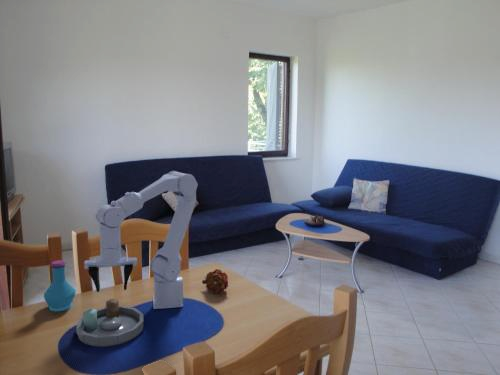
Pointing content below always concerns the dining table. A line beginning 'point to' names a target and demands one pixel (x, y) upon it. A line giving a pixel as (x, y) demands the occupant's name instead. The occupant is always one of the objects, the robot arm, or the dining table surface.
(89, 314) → the bead teal
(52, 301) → the perfume bottle
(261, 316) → the dining table surface
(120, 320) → the tray
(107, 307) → the bead walnut
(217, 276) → the brown pine cone
